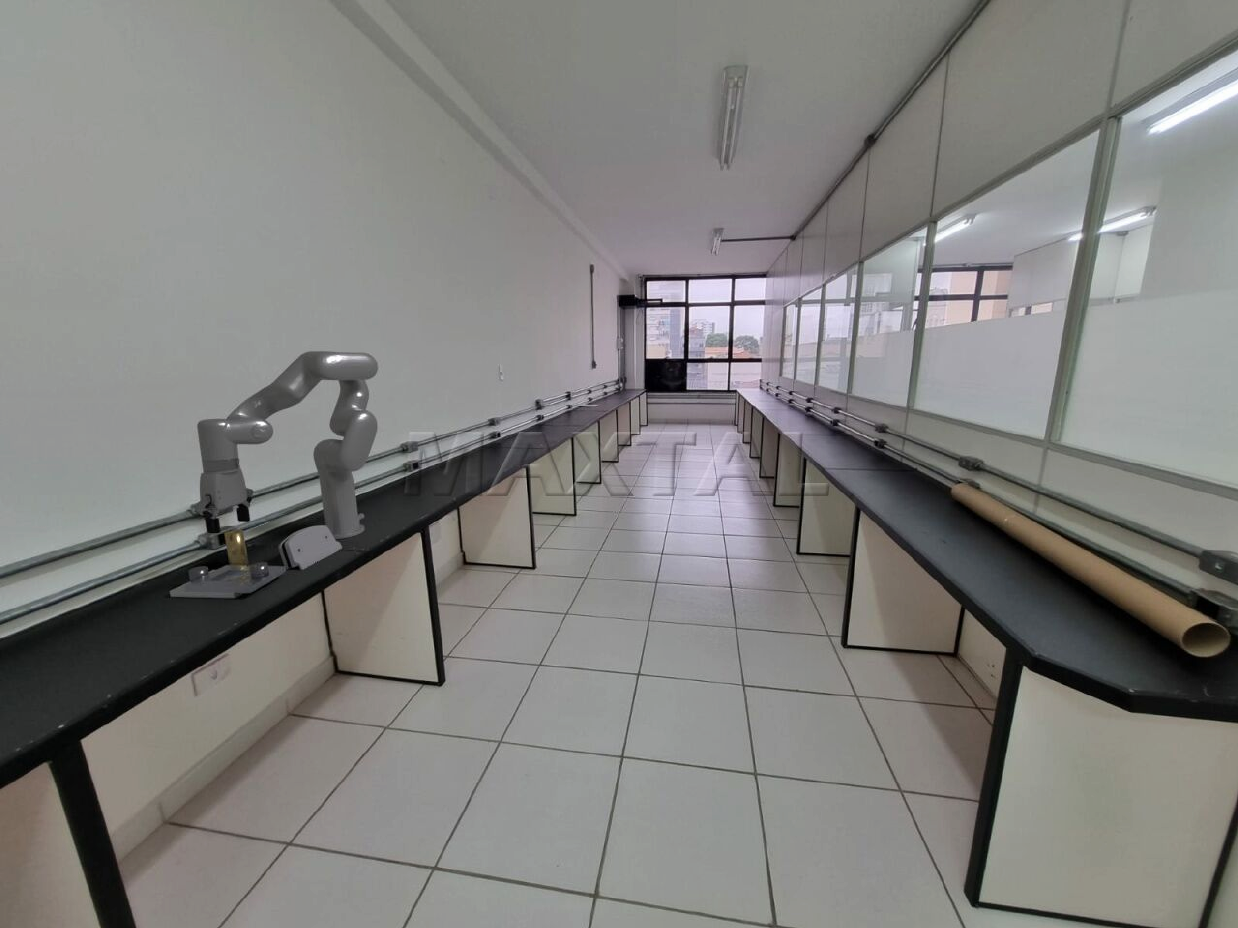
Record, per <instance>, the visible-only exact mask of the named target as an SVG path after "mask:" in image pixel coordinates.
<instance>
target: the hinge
mask: <svg viewBox="0 0 1238 928" xmlns="http://www.w3.org/2000/svg"><path fill="white" fill-rule="evenodd" d="M277 546H278V547H277V548H278V551H279V554H280V557H281V560H282V563H283V566H285V568H286V570H289V569H291V568H295V567H299V570H300V571H303V570H305V569H307V568H309V567H310V566H313V565H314V564H316V563H318V562H319V561H321V560H323V559H325V558H327V557H329V556H330V555H333V554H334V553H336V552H338V551H340V550H342V549H343V546H342V545H341V542H339V541H337V539H334V537H333V535H332V534H331V532H330V530H329V529H328V527H327V526H326V525H324V524H322V525H321V524H320V525H312V526H308V527H305V528H302V529H299V530H297V531H295V532H292V533H291V534H290V535H289V536H287V537H286V538H285V539H283V540H282V541H281V542H280V544H278V545H277ZM317 561H318V562H317ZM315 562H316V563H315ZM308 566H309V567H308Z"/></svg>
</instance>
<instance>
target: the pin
mask: <svg viewBox="0 0 1238 928" xmlns="http://www.w3.org/2000/svg"><path fill="white" fill-rule="evenodd" d="M223 535H224V540H225V545H226V551H227V556H228V557H227V558H228V561H229V565H246V566H247V565H248V566H249V559H248V552H247V547H246V541H245V540H246V539H245V534H244V530H243V529H233V530H229V531H226V532H224V534H223Z"/></svg>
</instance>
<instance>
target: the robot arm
mask: <svg viewBox="0 0 1238 928" xmlns="http://www.w3.org/2000/svg"><path fill="white" fill-rule="evenodd" d="M378 371H379V365H378V361H377V359H376V358H375V357H374V356H373V355H372V354H369V353H367V352H350V351H349V352H345V351H344V352H343V351H341V352H340V351H327V350H320V351H319V350H317V351H316V350H313V351H306V352H303V353H301V354H300V355H299V356H298V357H297V358H296V359H294V360H293V362H291V363H290V364H289V366H288V367H286V369H284V371H282V372H281V374H279V376H278V377H277V378H276V379H275V380H273V381H272V382H271V383H270V384H268V385H267V386H264V387H263V388H261V389H260V390H259V391H257V392H256V393H254V394H252V395H251V396H249V397H248V398H246V399H245V400H243V401H242V402H241V403H240V404H239V405H237V407H236V408H235V409H234V410H233V411H232V412H231V413H230V414H229V415H228V416H227V417H226V418H209V419H208V418H207V419H202V420H199V421H198V422H197V425H196V427H197V434H198V442H199V449H200V450H199V451H200V456H201V463H202V470H203V472H201V474H200V479H199V499H200V500H199V501H198V502H196V504H195V505H194V509H195V511H197V513H198V515H199V516H200V517H201V518H202V519H203V520H204V521H205V527H206V533H208V534H220V533H221V531H222V530H221V524H220V519H219V517H218V515H219V513H220V511H221V510H226V509H229V508H232V507H235V506H237V507H236V508H235V510H236V511H235V512H236V519H237V522H239V523H249V522H251V515H250V507H251V502H252V500H253V498H252V497H253V494H254V490H253V489H250V488H248V487H247V486H246V485H247V484H246V482H245V478H244V474H243V472H242V471H243V470H242V468H241V466H240V458H239V450H238V449H239V448H238V445H261V444H262V445H263V444H264V443H266V442H268V441H269V440H270V439H272V437H273V434H274V428H273V426H272V424H271V423H270V422H269V421H267V419H268V418H270V417H271V416H272V415H274V414H277V413H279V412H281V411H284V410H286V409H289V408H292V407H294V406H296V405H299V404H300V403H301V402H303V400H304V399H305V398H306V397H307V396H308V395H309V394H310V393H311V391H313V389H315V387H317V385H319V383H321V381H338V383H339V387H340V389H339V395H338V398H337V401H336V403H335V406H334V409H333V411H332V414H331V415H330V416H331V417H330V419H329V429H330V432H332V433H334V434H335V435H336V436H340V437H343V439H338V438H337V439H336V438H328V439H323V440H321V441H319V442H318V443H317V444H315V445H316V446H315V447H314V449H313V461H314V464H315V467H316V470H317V473H318V478H319V485H320V491H321V492H320V493H321V501H322V507H323V508H322V509H323V510H322V511H323V514H324V515H323V517H324V524H325V525H326V526H327V527H328V529H329V530H330V532H331V534H332V535H333V537H334V539H335V540H341V539H346V538H347V539H348V538H352V537H355V536H358V535H361V534H362V533H363V532H364V531H365V525H364V524H361V523H360V522H361V521H360V520H362V519H364V518H365V514H364V513H361V512H360V513H359V514H358V507H357V498H356V488H355V486H356V485H355V479H354V475H353V473H352V472H356V471H359V470H361V469H362V468H363V467H364V465H365V464H366V463H367V460H368V459H369V456H370V453H371V451H372V447H373V445H374V441H375V439H376V437H377V433H378V428H379V427H378V421H377V417H376V416H375V414H373V412H372V411H370V410H367V407H368V403H369V399H370V390H369V387H368V386H369V385H368V384H367V381H366V380H370V379H373V378H374V377H375V376H376V375H377V374H378Z"/></svg>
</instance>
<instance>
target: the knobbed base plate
mask: <svg viewBox="0 0 1238 928" xmlns="http://www.w3.org/2000/svg"><path fill="white" fill-rule="evenodd" d="M285 573H287V569H286V568H285V566H284V565H283V566H281V565H269V564H268V562H267V561H266V562H264V561H261V562H260V561H259V562H255V563H253V564H251V565H248V566H246V565H230V564H226V565H224V566H221V567H220V568H218V569H212V570H210V571H209V568H208V566H205V565H203V566H202V565H201V566H197V567H192V568H190V569H189V570H188V576H189V581H187V582H186V583H183V584H181V585H180V586H177V587H176V588H173V589H171V590H169V593H170V594H169V595H170V597H171V598H196V599H197V598H199V599H200V598H201V599H205V598H206V599H237V598H238V597H240V596H242V595H244V594H251V593H253V592H255V591H257V590H258V589H260V588H261V587H263V586H264V585H266V584H268V583H270V582H271V581H273V580H274V579H276V578H278V577H280V576H281V575H283V574H285Z"/></svg>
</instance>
